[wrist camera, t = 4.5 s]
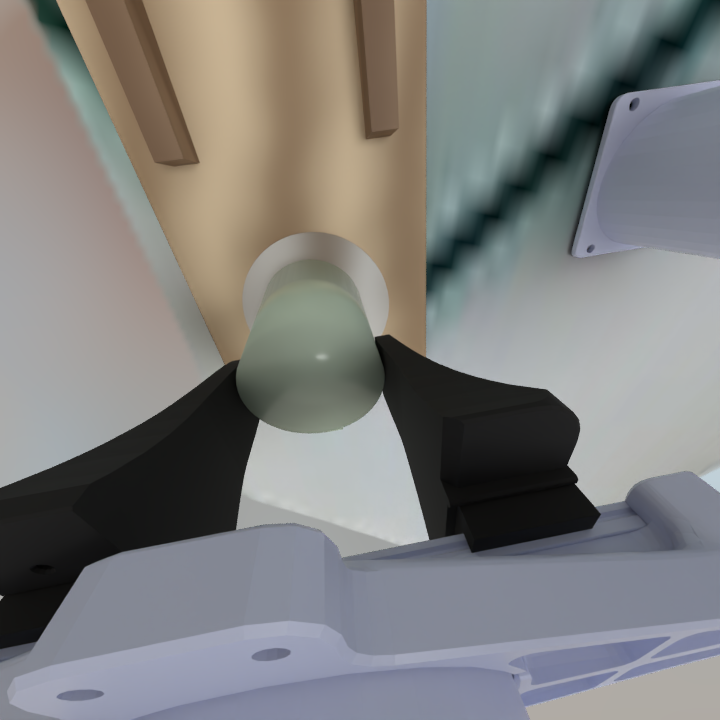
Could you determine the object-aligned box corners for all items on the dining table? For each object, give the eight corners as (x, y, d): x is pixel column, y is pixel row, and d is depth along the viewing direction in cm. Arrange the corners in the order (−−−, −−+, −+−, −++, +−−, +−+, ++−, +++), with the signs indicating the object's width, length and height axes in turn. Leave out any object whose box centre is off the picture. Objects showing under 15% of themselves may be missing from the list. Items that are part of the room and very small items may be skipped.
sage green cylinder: (355, 252, 13) (380, 310, 8) (368, 373, 18) (389, 457, 13) (249, 267, 13) (208, 336, 8) (291, 386, 18) (281, 477, 13)
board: (419, -171, 10) (448, -281, 7) (422, 357, 21) (434, 376, 19) (9, -130, 9) (-92, -235, 7) (242, 389, 21) (232, 412, 18)
